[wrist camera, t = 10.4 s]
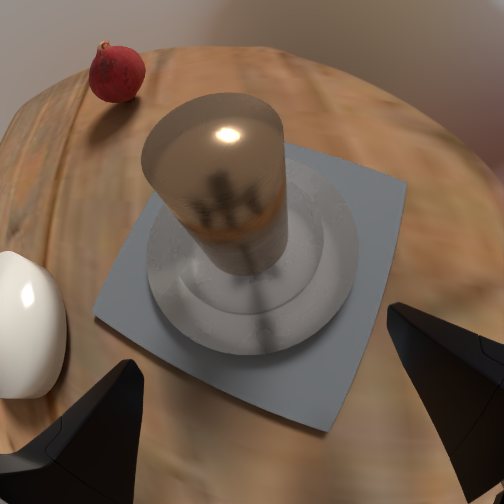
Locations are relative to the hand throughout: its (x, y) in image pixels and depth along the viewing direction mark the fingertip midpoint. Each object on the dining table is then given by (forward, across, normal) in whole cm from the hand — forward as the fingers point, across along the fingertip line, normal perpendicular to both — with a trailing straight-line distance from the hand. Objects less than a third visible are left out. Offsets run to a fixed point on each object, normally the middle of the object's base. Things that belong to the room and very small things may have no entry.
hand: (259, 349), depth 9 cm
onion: (+23, +9, -14) cm, 28 cm away
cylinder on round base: (+8, 0, 0) cm, 8 cm away
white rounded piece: (+7, +19, +2) cm, 20 cm away
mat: (+9, 0, 0) cm, 9 cm away
